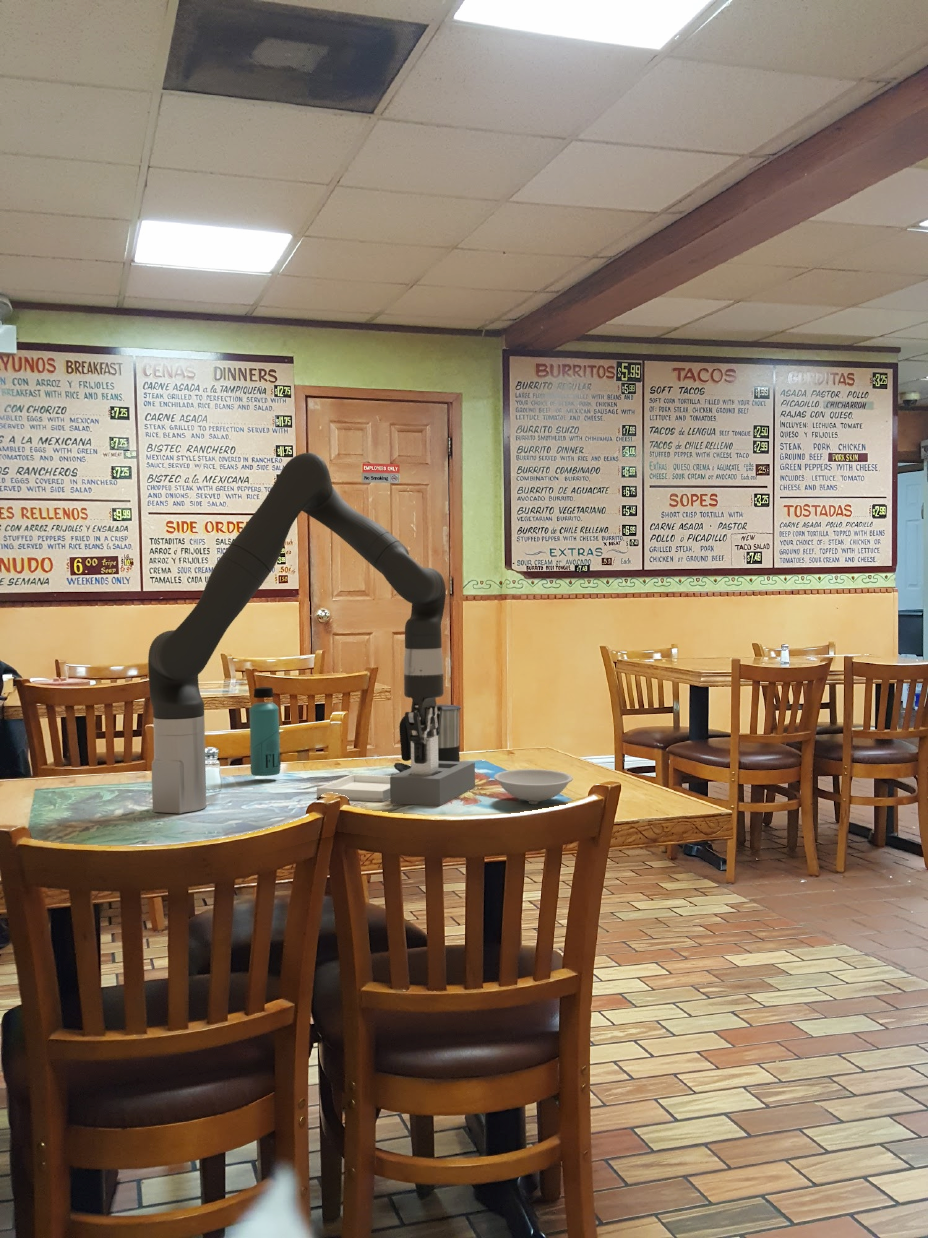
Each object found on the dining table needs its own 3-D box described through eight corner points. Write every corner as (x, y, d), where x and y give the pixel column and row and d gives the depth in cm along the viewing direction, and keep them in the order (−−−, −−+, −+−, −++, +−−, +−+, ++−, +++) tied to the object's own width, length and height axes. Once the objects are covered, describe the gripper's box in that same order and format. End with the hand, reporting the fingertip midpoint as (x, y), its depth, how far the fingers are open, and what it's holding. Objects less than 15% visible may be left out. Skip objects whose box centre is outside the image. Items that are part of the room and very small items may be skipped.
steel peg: (431, 796, 203) (430, 738, 203) (411, 795, 204) (410, 737, 204) (438, 792, 207) (437, 735, 206) (419, 791, 208) (418, 734, 208)
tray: (382, 801, 204) (382, 791, 204) (316, 798, 208) (316, 787, 208) (414, 786, 219) (414, 777, 219) (352, 783, 223) (352, 774, 223)
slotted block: (440, 806, 199) (439, 779, 199) (390, 803, 202) (390, 776, 202) (475, 787, 218) (474, 762, 217) (429, 784, 221) (428, 760, 221)
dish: (484, 797, 207) (484, 771, 207) (556, 792, 210) (555, 767, 210) (508, 815, 190) (508, 787, 190) (585, 810, 193) (585, 782, 193)
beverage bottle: (264, 784, 225) (262, 689, 224) (243, 781, 229) (241, 687, 228) (287, 779, 230) (285, 686, 229) (266, 777, 234) (264, 685, 233)
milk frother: (462, 770, 239) (461, 703, 239) (460, 782, 223) (459, 711, 223) (398, 770, 239) (397, 704, 239) (392, 783, 224) (391, 712, 223)
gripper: (428, 675, 197) (429, 768, 197) (454, 669, 210) (456, 757, 211) (390, 674, 199) (391, 766, 200) (419, 669, 213) (420, 755, 213)
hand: (424, 761), depth 205 cm, fingers closed on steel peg, 4 cm apart
